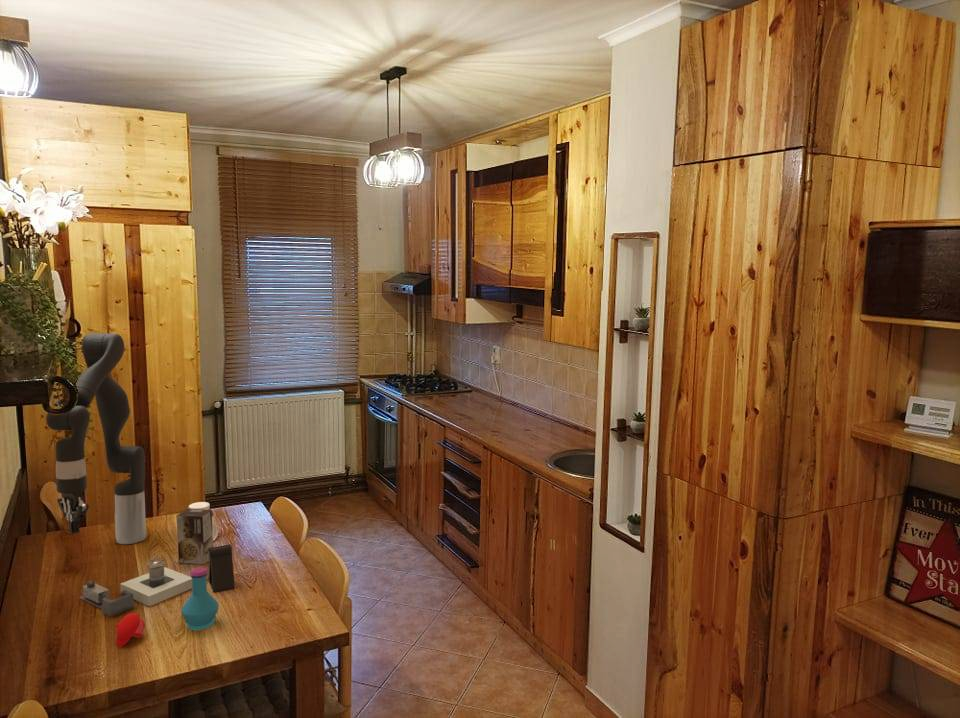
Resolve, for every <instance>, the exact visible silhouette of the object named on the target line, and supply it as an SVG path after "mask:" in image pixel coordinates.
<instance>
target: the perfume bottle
mask: <svg viewBox="0 0 960 718" xmlns="http://www.w3.org/2000/svg"><path fill="white" fill-rule="evenodd" d="M208 574H209V569H207V568H206V567H201V566H200V567H196V568H194V569H192V570H191V571H190V572H189V575H190V577H191V578H192V589H191V590H192V593H191V594H190V596H189V597H188V599H187V600H186V601H185V603H184V604H183V606H182V607H181V616H182V617H183V619H184V622H185V623H186V624H187V625H186V627H187V628H188V629H189V628H190V629H189V630H191V629H192V631H201V630H205V629H208V628H210V627H212V626H213V625H214V623H215V619H216V615H217V613H218V612H219V607H220V606H219V601H217V600H216V599H215V597H213V596H212V595H211V594H210V593H209V591H208V585H207V584H208V583H207V582H208V578H207V576H208Z"/></svg>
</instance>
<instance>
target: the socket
mask: <svg viewBox="0 0 960 718" xmlns="http://www.w3.org/2000/svg"><path fill="white" fill-rule="evenodd" d="M164 578H165V584H163V585H161V586H158V587H156V588H151V587H150V581H149V572H148V573H145V574H143V575H140V576H137V577H134V578H131V579H129V580H125V581H124V582H121V583H119V584H120V594H121V595H122V591H124V590H126V591H128V592H130V593H133V597H134V601H136V602H138V603H140V604H144V605H145V606H148V607H151V606H154V605H156V604H158V603H161V602H163V601H165V600H168V599H171V598H173V597H175V596H177V595H180V594H183V593H184V592H187V591H190V590H192V578H191V576H189V575H186V574H183V573H181V572H178V571H176V570H173V569H171V568H168V567H166V566H164Z"/></svg>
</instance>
